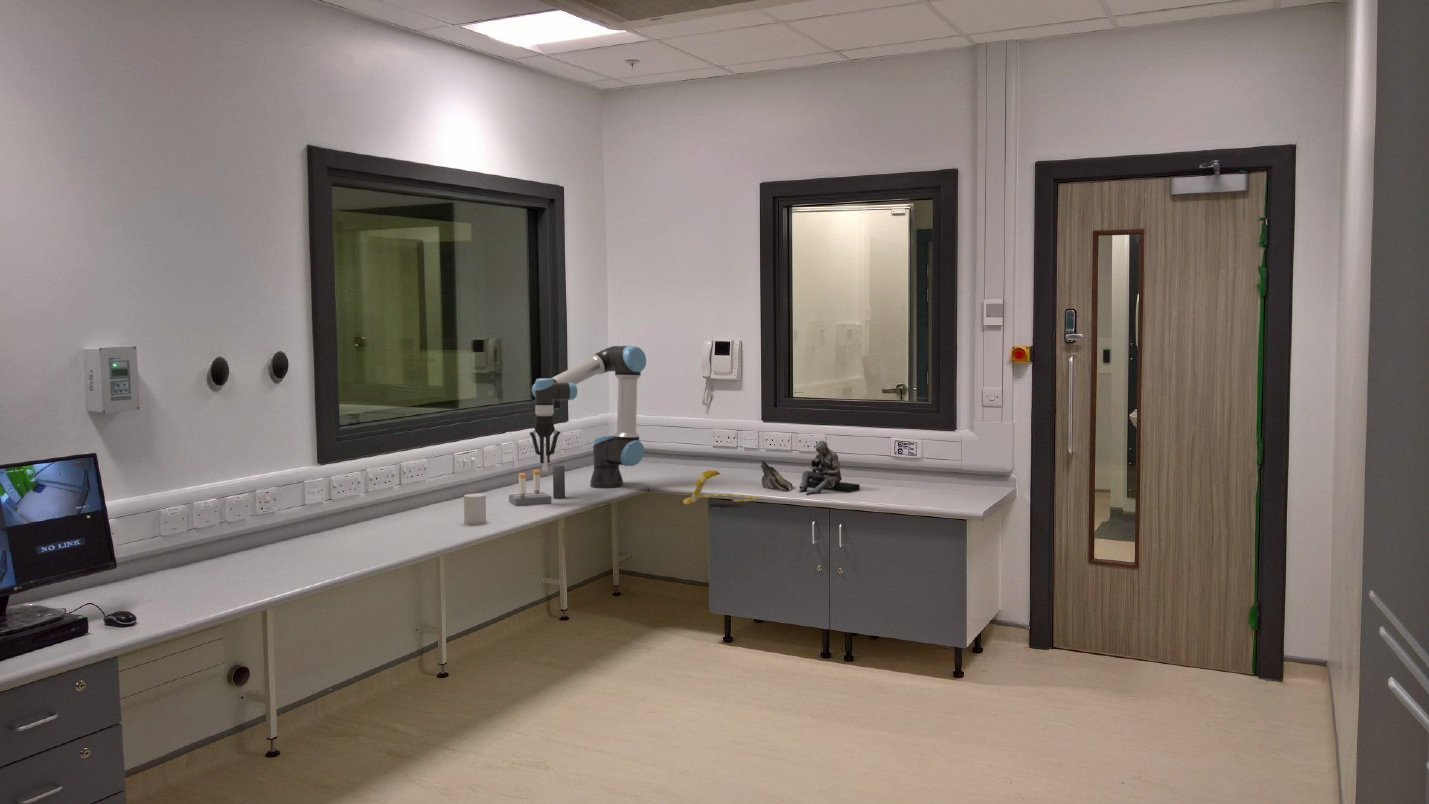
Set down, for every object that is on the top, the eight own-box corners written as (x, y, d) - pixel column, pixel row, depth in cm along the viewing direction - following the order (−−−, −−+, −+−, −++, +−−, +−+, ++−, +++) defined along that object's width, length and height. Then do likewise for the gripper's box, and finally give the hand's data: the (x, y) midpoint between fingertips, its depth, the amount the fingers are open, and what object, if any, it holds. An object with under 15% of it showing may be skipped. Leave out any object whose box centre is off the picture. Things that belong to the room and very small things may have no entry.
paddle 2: (538, 491, 432) (537, 469, 431) (540, 493, 428) (540, 471, 427) (533, 492, 431) (532, 470, 430) (535, 493, 427) (535, 471, 426)
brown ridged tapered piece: (751, 455, 443) (764, 460, 470) (738, 471, 444) (753, 476, 470) (790, 484, 437) (802, 489, 463) (778, 501, 437) (790, 505, 464)
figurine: (780, 495, 439) (780, 441, 438) (814, 489, 457) (814, 437, 456) (826, 501, 422) (826, 444, 421) (859, 494, 440) (859, 440, 438)
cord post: (563, 497, 438) (562, 465, 437) (566, 499, 433) (565, 466, 432) (552, 498, 436) (551, 466, 435) (555, 499, 431) (554, 467, 430)
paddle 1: (523, 495, 421) (523, 473, 421) (526, 497, 417) (525, 474, 417) (518, 496, 421) (518, 473, 420) (521, 497, 417) (520, 474, 416)
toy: (731, 510, 401) (731, 473, 400) (672, 506, 414) (671, 470, 413) (762, 500, 427) (762, 465, 426) (705, 496, 440) (705, 462, 439)
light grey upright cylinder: (466, 524, 391) (465, 493, 390) (487, 524, 391) (487, 493, 391) (462, 528, 383) (462, 497, 382) (484, 527, 383) (484, 496, 382)
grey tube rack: (543, 499, 433) (543, 491, 433) (551, 503, 421) (551, 495, 421) (509, 501, 427) (508, 493, 427) (515, 506, 415) (515, 498, 415)
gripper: (557, 414, 427) (557, 469, 428) (527, 415, 422) (527, 470, 423) (562, 415, 420) (562, 471, 421) (531, 416, 415) (531, 472, 416)
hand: (545, 471), depth 422 cm, fingers closed
